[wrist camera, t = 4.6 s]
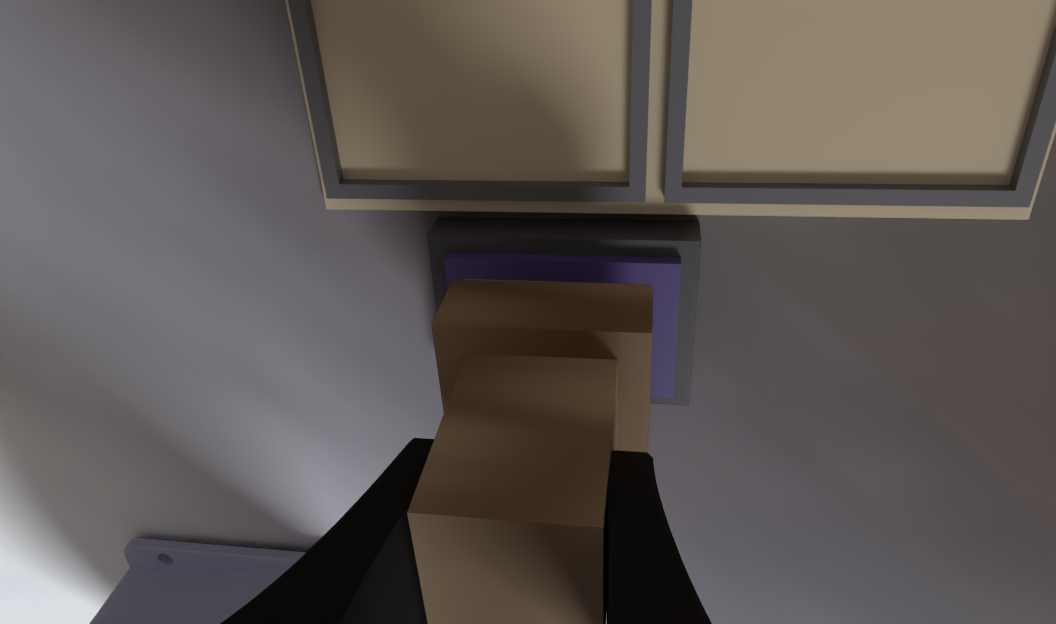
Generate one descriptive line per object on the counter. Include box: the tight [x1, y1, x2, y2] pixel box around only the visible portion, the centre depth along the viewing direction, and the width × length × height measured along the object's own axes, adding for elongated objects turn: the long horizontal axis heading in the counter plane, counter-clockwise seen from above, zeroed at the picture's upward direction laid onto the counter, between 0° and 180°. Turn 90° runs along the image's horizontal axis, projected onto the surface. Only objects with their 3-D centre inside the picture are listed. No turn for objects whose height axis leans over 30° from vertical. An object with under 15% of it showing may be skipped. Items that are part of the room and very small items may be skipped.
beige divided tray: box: [285, 0, 1056, 220], centre depth 15 cm, size 15×8×1 cm, turn 93°
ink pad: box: [428, 217, 701, 405], centre depth 18 cm, size 6×4×1 cm
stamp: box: [407, 279, 653, 624], centre depth 14 cm, size 4×4×6 cm
